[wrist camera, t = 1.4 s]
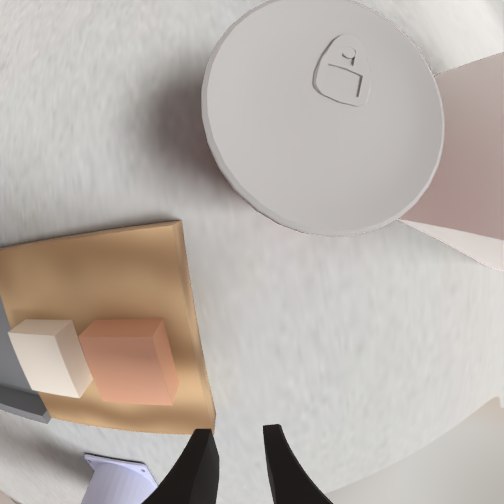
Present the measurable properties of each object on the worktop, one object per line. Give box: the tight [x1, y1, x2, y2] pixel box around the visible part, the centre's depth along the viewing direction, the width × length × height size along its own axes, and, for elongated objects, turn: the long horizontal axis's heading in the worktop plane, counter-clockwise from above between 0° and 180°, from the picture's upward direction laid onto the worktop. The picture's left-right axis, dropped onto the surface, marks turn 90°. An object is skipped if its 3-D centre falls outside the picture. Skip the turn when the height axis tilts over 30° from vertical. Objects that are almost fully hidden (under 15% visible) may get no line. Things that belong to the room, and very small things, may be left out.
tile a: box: [78, 318, 179, 406], centre depth 17 cm, size 5×5×2 cm
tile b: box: [8, 319, 93, 398], centre depth 17 cm, size 5×5×2 cm
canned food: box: [201, 0, 445, 237], centre depth 12 cm, size 8×8×11 cm
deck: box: [0, 220, 216, 435], centre depth 19 cm, size 16×16×2 cm
